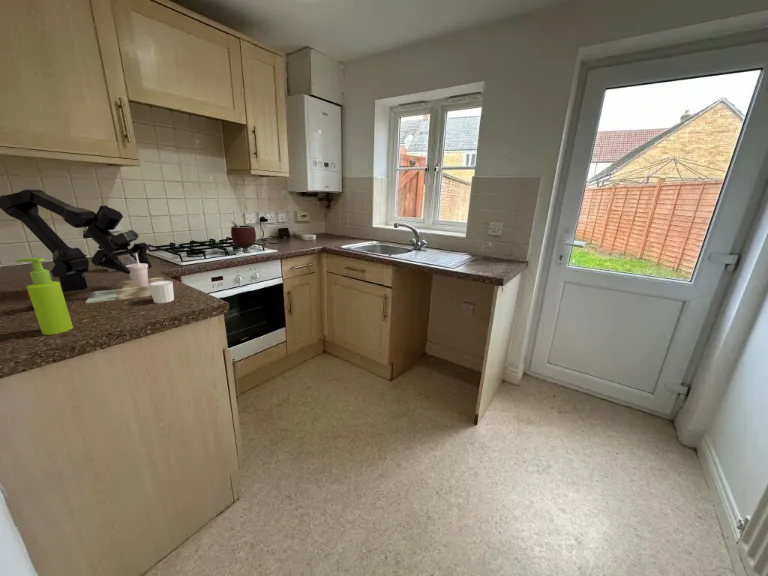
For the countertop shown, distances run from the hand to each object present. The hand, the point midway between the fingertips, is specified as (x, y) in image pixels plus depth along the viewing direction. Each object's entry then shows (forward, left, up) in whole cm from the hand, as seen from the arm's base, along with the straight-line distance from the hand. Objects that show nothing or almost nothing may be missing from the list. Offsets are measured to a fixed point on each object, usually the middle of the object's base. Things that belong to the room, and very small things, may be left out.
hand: (140, 270), depth 113 cm
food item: (-11, +49, -9) cm, 51 cm away
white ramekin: (+6, -14, -9) cm, 18 cm away
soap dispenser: (-18, -27, -9) cm, 34 cm away
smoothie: (-1, +1, -8) cm, 8 cm away
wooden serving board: (-1, +1, -9) cm, 9 cm away
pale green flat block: (-12, +1, -9) cm, 15 cm away
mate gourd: (+45, +69, -9) cm, 83 cm away
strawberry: (-25, -4, -9) cm, 27 cm away
